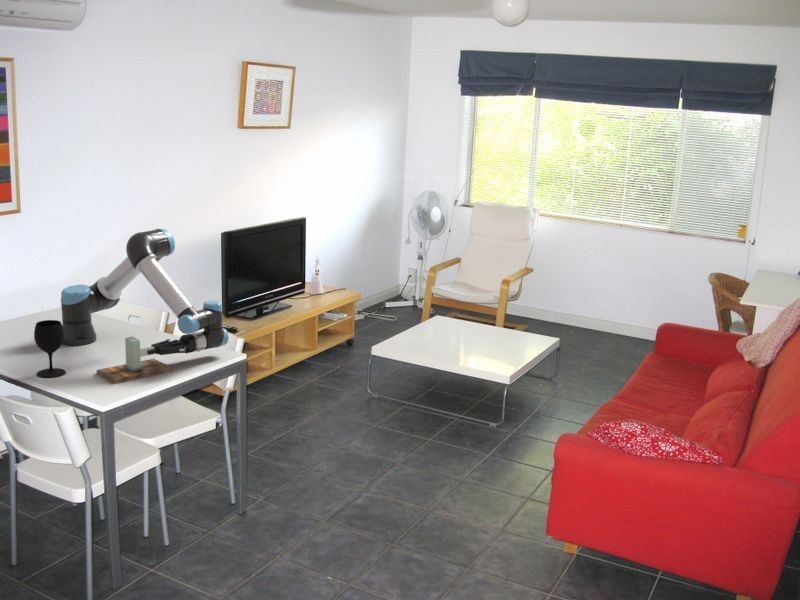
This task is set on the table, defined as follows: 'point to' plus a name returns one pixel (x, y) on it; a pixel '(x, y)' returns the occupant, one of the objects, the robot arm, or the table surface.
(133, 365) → the block
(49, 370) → the wine glass
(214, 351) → the table surface
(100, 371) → the brown wooden board
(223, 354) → the table surface
